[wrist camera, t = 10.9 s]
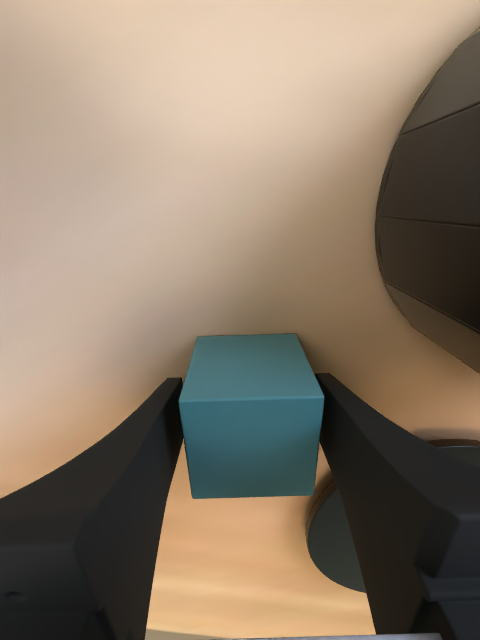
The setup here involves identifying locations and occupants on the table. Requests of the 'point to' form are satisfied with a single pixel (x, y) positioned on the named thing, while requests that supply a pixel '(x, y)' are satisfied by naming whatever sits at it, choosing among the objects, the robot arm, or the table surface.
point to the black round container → (437, 209)
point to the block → (251, 417)
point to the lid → (334, 532)
